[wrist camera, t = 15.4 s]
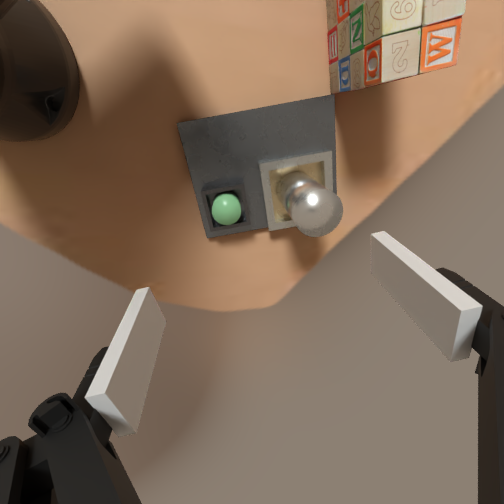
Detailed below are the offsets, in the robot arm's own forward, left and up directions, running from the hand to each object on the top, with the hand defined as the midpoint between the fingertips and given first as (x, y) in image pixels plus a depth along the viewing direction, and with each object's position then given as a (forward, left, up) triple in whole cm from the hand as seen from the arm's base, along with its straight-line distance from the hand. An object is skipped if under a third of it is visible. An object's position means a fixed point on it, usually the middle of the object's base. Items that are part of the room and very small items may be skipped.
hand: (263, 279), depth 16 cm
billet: (+1, +7, -22) cm, 23 cm away
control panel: (-2, +3, -23) cm, 23 cm away
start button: (+1, -3, -22) cm, 22 cm away
